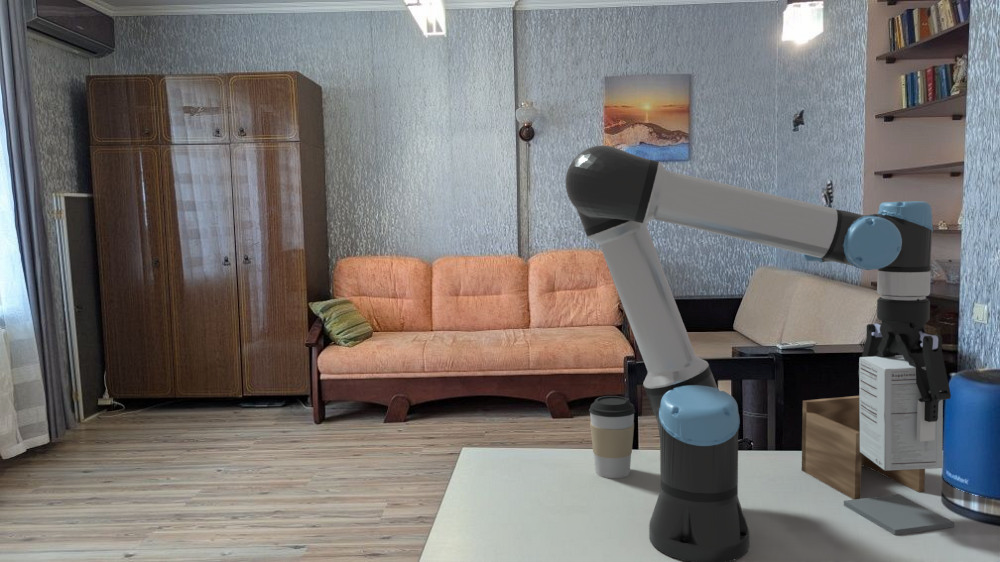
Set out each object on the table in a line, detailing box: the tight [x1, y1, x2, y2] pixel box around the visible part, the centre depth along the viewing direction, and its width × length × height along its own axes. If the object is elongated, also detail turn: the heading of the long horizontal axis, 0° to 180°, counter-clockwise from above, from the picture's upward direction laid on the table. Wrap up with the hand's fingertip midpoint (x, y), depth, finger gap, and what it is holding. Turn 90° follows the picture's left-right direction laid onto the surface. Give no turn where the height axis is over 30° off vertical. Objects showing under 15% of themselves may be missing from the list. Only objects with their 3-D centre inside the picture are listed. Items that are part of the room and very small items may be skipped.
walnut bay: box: [801, 395, 926, 500], centre depth 137 cm, size 14×15×14 cm
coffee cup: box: [588, 395, 636, 479], centre depth 144 cm, size 9×9×15 cm
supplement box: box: [858, 354, 944, 471], centre depth 120 cm, size 10×9×17 cm
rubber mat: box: [843, 493, 955, 536], centre depth 122 cm, size 11×12×1 cm
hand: (899, 430), depth 120 cm, fingers closed on supplement box, 10 cm apart
